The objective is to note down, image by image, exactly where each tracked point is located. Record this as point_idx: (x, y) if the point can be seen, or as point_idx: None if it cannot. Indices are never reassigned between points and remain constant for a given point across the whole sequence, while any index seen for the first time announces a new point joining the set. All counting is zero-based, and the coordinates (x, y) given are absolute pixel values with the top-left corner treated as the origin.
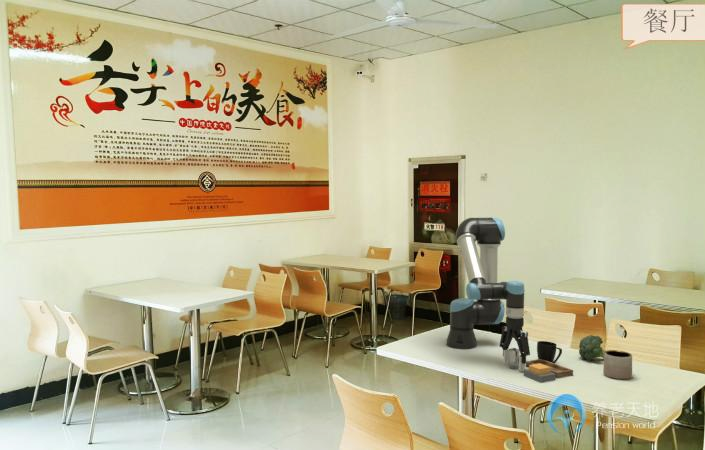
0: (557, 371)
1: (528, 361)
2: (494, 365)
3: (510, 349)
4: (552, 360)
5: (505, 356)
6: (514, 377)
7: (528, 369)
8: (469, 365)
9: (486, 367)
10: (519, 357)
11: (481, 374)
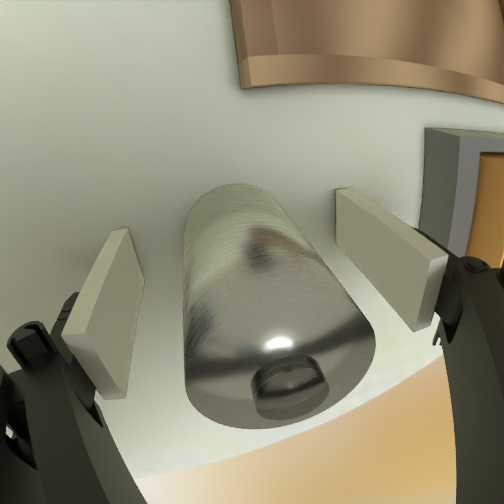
0: (466, 6)
1: (263, 56)
2: (138, 348)
3: (244, 416)
4: None
5: (131, 328)
6: (401, 327)
7: (454, 252)
8: (128, 438)
9: (175, 399)
10: (404, 318)
11: (280, 434)
